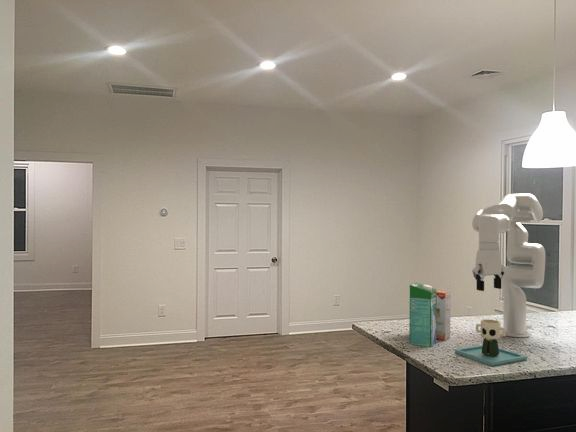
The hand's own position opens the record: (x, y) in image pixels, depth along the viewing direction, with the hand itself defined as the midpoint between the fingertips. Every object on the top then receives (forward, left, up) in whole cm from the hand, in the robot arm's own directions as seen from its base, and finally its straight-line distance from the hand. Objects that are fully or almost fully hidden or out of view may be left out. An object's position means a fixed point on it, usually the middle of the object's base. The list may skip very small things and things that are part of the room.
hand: (489, 289), depth 183 cm
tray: (+4, +4, -25) cm, 26 cm away
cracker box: (+3, -28, -25) cm, 38 cm away
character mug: (+4, +4, -25) cm, 25 cm away
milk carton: (+14, -22, -25) cm, 36 cm away
